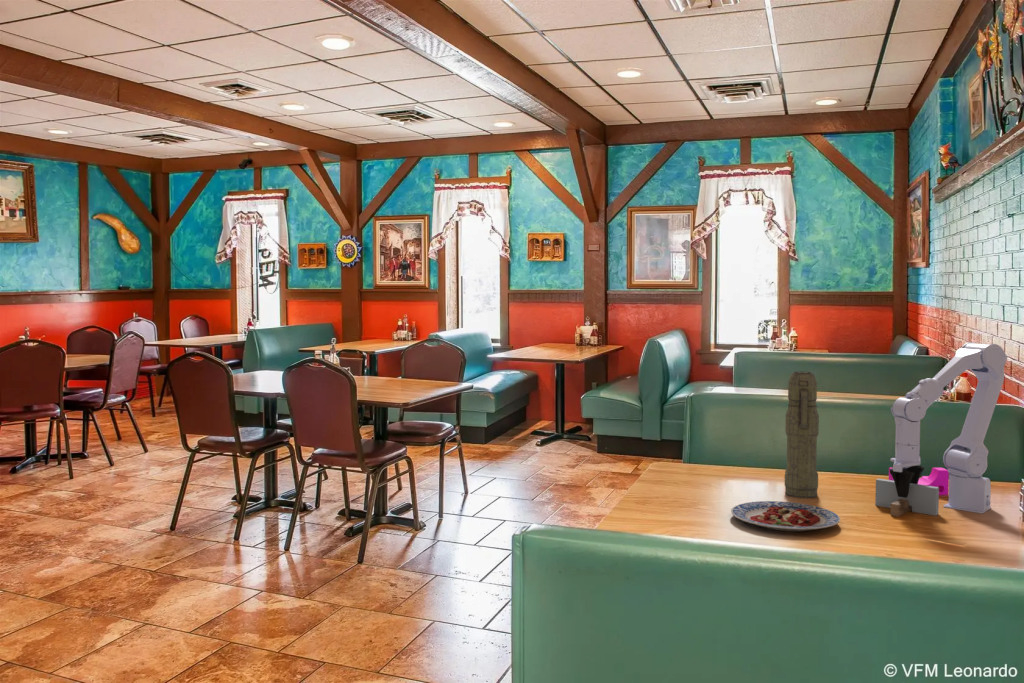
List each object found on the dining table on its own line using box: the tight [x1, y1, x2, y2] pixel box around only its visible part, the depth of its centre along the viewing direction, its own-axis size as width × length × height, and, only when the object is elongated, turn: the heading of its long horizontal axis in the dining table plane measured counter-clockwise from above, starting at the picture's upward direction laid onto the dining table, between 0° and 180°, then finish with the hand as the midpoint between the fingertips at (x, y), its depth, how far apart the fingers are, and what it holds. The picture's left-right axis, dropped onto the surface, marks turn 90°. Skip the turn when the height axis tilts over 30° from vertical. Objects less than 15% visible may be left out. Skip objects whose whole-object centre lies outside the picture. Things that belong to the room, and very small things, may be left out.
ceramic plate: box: [730, 500, 841, 532], centre depth 200 cm, size 26×26×3 cm
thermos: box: [784, 371, 820, 499], centre depth 226 cm, size 9×12×35 cm
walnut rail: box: [890, 499, 912, 517], centre depth 211 cm, size 17×2×3 cm, turn 135°
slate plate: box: [875, 478, 940, 517], centre depth 210 cm, size 15×2×7 cm, turn 45°
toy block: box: [888, 467, 949, 496], centre depth 229 cm, size 15×6×8 cm, turn 89°
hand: (906, 495), depth 210 cm, fingers open, 5 cm apart
